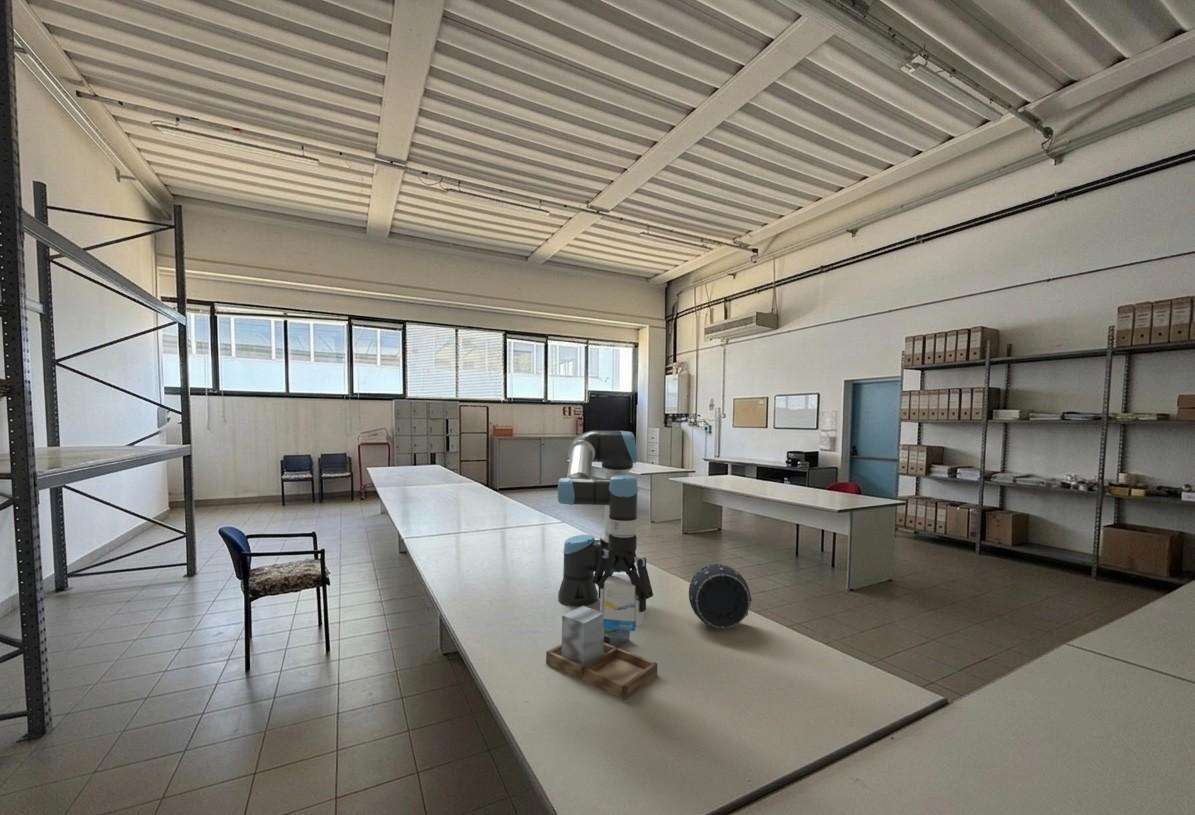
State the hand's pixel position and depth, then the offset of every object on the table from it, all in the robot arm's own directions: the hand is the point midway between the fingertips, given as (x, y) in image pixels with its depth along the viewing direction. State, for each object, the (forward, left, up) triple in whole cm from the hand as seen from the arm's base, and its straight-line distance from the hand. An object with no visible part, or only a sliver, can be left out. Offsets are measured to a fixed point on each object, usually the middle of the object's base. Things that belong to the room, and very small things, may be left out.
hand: (621, 617), depth 125 cm
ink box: (0, 0, -2) cm, 2 cm away
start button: (-15, +14, -15) cm, 25 cm away
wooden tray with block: (-6, 0, -16) cm, 17 cm away
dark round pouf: (+7, +47, -16) cm, 50 cm away
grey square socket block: (-15, +14, -16) cm, 26 cm away
